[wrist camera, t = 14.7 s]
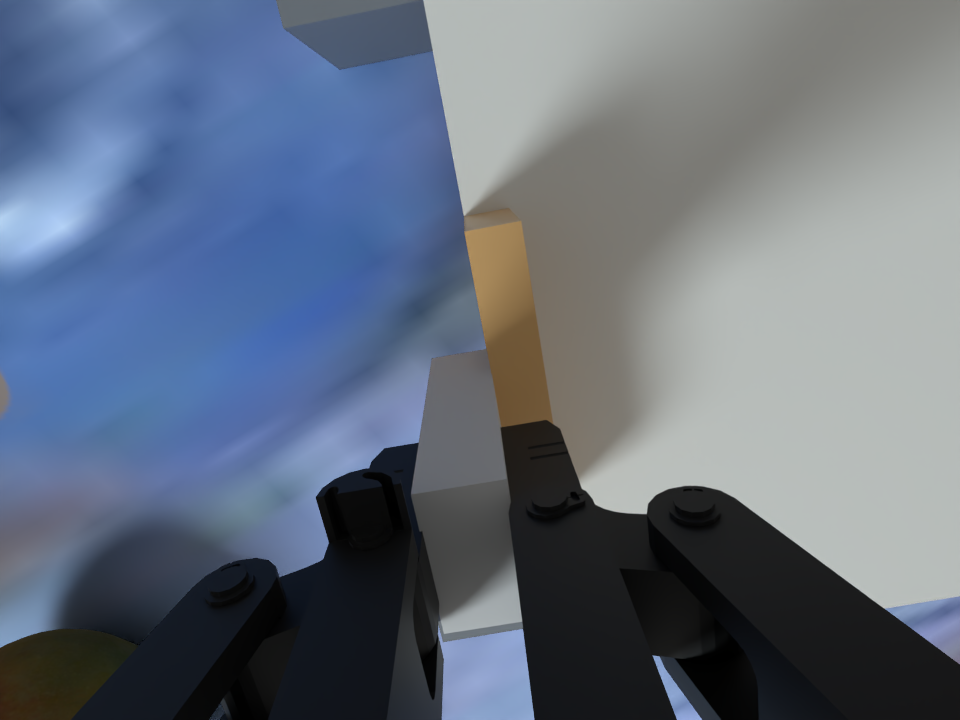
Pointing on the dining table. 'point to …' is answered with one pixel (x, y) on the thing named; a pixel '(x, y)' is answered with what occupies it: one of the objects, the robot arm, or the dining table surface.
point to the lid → (727, 256)
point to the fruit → (57, 672)
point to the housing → (358, 41)
